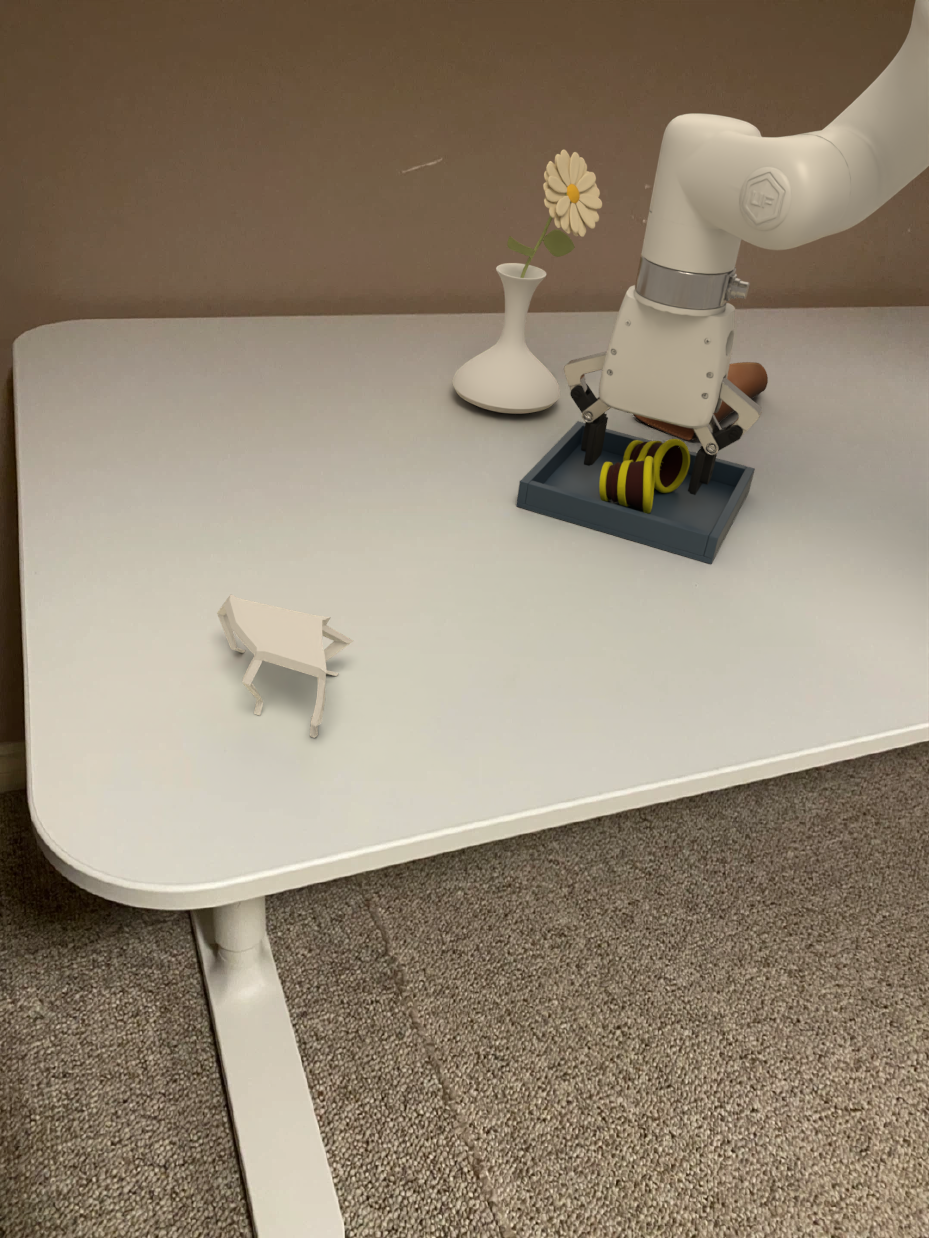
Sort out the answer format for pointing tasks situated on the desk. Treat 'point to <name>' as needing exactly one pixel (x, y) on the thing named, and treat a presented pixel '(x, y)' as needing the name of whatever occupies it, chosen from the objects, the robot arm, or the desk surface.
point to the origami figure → (282, 643)
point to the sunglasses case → (744, 377)
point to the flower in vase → (509, 367)
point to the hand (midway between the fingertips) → (643, 474)
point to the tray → (669, 526)
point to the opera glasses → (645, 472)
